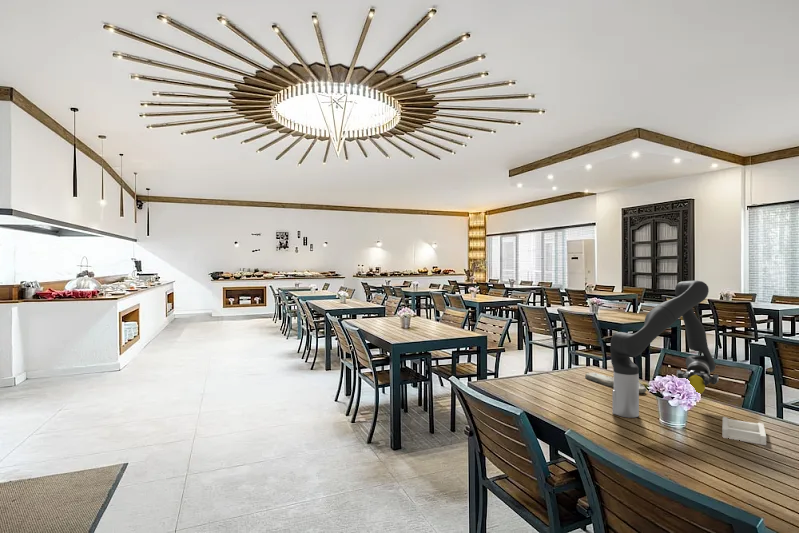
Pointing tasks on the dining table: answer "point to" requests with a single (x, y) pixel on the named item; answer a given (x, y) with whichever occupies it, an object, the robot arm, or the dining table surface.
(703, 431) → the dining table surface
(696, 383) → the lemon
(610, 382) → the elongated rock
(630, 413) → the robot arm
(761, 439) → the tray
